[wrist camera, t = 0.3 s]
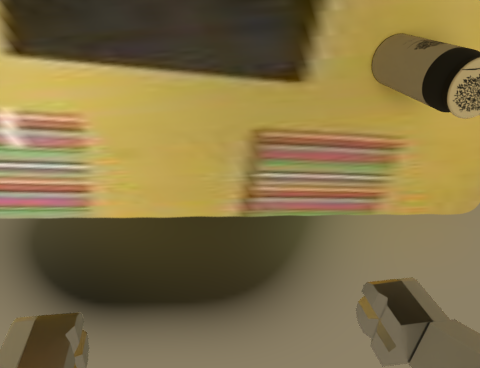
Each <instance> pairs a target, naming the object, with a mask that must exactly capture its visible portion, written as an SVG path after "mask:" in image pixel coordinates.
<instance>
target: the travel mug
mask: <svg viewBox="0 0 480 368" xmlns="http://www.w3.org/2000/svg"><path fill="white" fill-rule="evenodd" d="M372 71H373V74H374V77H375V78H376V79H377V80H378V81H379V82H380V83H382V84H384V85H386V86H388V87H390V88H392V89H395V90H397V91H399V92H401V93H403V94H405V95H407V96H409V97H411V98H414V99H416V100H418V101H420V102H422V103H424V104H426V105H428V106H430V107H433V108H435V109H437V110H439V111H442V112H451V113H452V114H453V115H455V116H457V117H459V118H472V117H475V116H478V115H480V52H479V51H477V50H473V49H469V48H464V47H460V46H456V45H451V44H447V43H442V42H438V41H433V40H429V39H424V38H420V37H415V36H411V35H407V34H396V35H393V36H391V37H389V38H387V39H386V40H385V41H384V42H383V43H382V44H381V45H380V46H379V47H378V49H377V51H376V53H375V55H374V58H373V62H372Z"/></svg>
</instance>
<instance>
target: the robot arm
mask: <svg viewBox="0 0 480 368" xmlns="http://www.w3.org/2000/svg"><path fill="white" fill-rule="evenodd" d="M362 292H363V294H364V297H363V298H361V299H360V300H359V301H358V304H357V308H356V314H357V320H358V323H359V326H360V327H361V329H362V331H363V333H365V334H366V335H367V336H369V337H370V338H372V340H371V347H372V349H373V351H374V352H375V354H376V356H377V358H378V359H379V361H380V363H381V365H382V366H391V365H399V364H407V363H409V365H410V366H411V367H412V368H480V334H479V333H478V332H476V331H474V330H472V329H471V328H469V327H467V326H465V325H464V324H462V323H460V322H458V321H457V320H455V319H454V320H450V319H449V318H448V317H447V315H446V314H445V313H444V312H443V311H442V309H441V308H440V307H439V306H438V305H437V303H436V302H435V301H434V300H433V299H432V298H431V296H430V295H429V294H428V293H427V292H426V291H425V289H424V288H423V287H422V286H421V285H420V283H419V282H418V281H417V280H415V279H414V278H402V279H390V280H382V281H373V282H367V283H366V284H365V285H364V286H363V289H362ZM83 324H84V319H83V316H82V313H67V314H55V315H42V316H32V317H20V318H16V319H15V320H14V322H13V323H12V324H11V326H10V328H9V331H8V333H7V335H6V337H5V340H4V342H3V344H2V346H1V349H0V368H86V367H87V362H88V353H89V352H88V351H89V343H88V335H87V332H85V331H84V330H82V329H83Z"/></svg>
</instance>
